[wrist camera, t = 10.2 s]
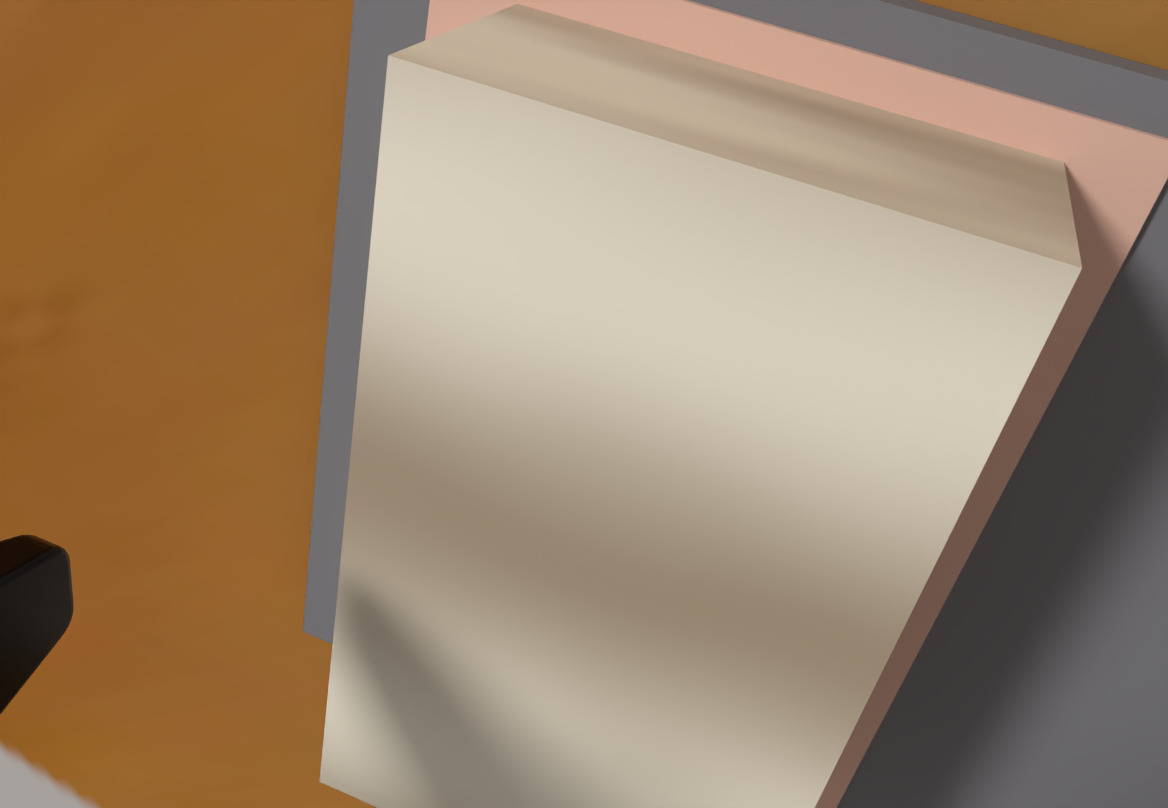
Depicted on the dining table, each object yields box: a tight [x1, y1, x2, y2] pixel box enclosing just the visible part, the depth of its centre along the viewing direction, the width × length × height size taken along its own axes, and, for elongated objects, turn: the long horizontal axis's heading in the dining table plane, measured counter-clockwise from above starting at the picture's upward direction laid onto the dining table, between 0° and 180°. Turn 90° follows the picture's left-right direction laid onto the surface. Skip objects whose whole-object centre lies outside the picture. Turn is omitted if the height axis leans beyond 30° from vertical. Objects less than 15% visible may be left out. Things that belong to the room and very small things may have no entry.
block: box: [320, 4, 1082, 808], centre depth 13 cm, size 10×6×3 cm, turn 168°
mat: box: [303, 0, 1168, 808], centre depth 13 cm, size 21×12×1 cm, turn 78°
